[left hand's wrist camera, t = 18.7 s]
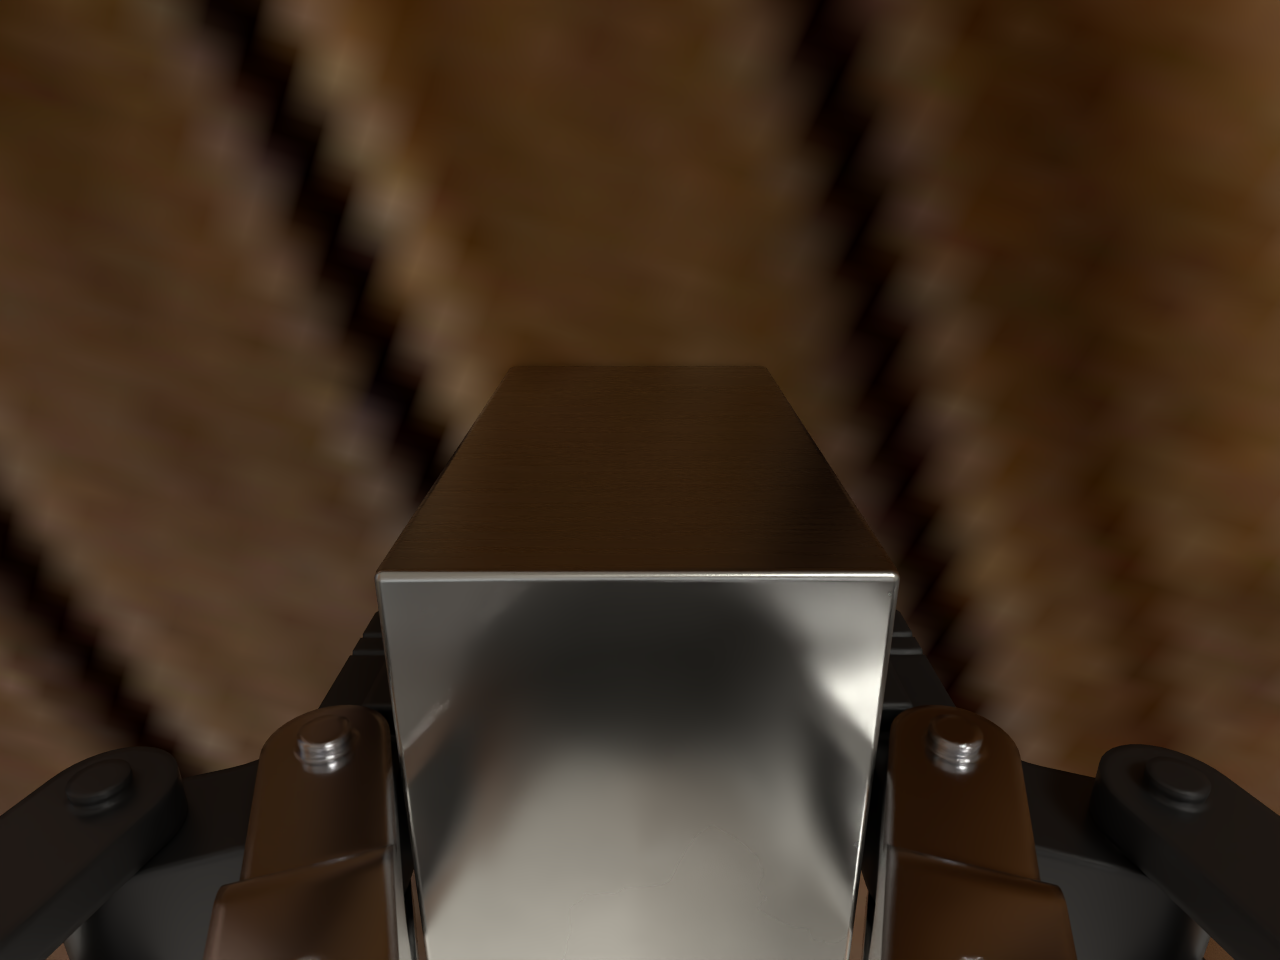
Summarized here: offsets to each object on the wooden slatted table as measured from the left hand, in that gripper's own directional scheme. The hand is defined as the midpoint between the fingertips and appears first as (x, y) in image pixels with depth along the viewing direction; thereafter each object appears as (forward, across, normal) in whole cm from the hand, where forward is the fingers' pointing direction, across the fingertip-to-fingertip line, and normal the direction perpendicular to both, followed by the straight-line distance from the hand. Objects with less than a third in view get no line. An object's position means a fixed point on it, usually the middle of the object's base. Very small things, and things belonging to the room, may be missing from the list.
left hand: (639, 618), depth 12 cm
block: (+3, 0, 0) cm, 3 cm away
